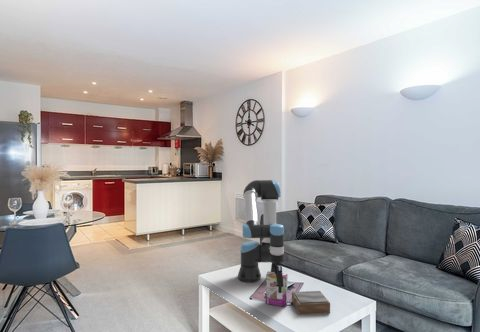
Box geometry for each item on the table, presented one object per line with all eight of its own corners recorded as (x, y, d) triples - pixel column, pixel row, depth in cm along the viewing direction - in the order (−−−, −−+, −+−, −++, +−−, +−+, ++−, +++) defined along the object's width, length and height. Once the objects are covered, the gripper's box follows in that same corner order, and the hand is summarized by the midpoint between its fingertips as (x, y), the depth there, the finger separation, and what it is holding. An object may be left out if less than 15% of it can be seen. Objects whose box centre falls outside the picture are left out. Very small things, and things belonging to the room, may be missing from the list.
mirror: (291, 301, 164) (291, 291, 164) (320, 300, 166) (320, 290, 166) (299, 314, 150) (299, 303, 150) (330, 312, 152) (330, 302, 152)
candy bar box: (265, 304, 160) (265, 274, 160) (267, 300, 165) (267, 271, 165) (286, 307, 157) (286, 276, 157) (287, 303, 162) (287, 273, 162)
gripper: (265, 247, 173) (265, 283, 173) (274, 261, 148) (274, 303, 148) (278, 246, 174) (278, 283, 174) (289, 260, 149) (289, 303, 149)
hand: (276, 292), depth 161 cm, fingers open, 13 cm apart
